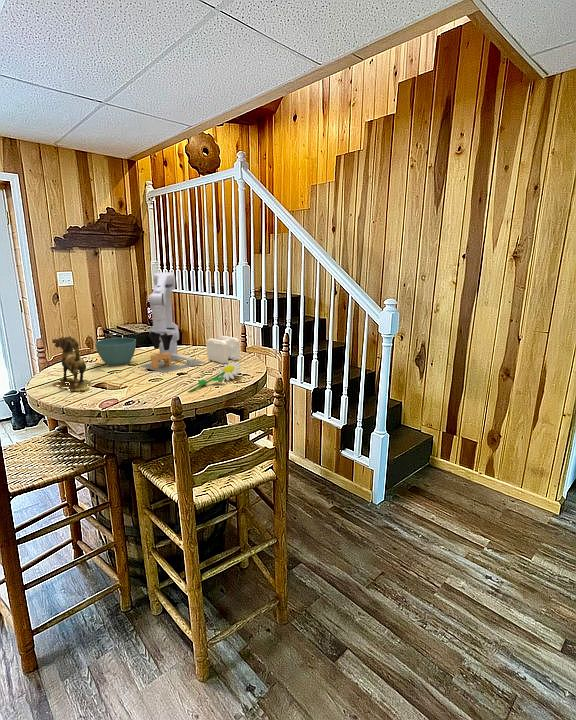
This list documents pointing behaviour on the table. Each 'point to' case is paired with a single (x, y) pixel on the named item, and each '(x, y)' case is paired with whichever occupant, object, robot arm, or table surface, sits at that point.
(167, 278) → the robot arm
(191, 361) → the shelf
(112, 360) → the plant pot
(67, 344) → the figurine
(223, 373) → the decorative flower
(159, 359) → the orange arch block
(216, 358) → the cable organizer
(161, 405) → the table surface
